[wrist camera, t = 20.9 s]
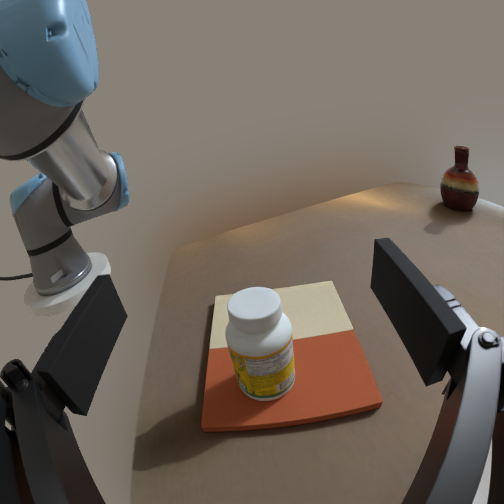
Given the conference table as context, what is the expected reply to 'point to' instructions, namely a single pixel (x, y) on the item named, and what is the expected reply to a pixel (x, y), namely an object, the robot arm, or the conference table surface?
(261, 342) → the supplement bottle
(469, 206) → the vase
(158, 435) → the conference table surface
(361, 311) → the conference table surface
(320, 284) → the sorting mat
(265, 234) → the conference table surface
